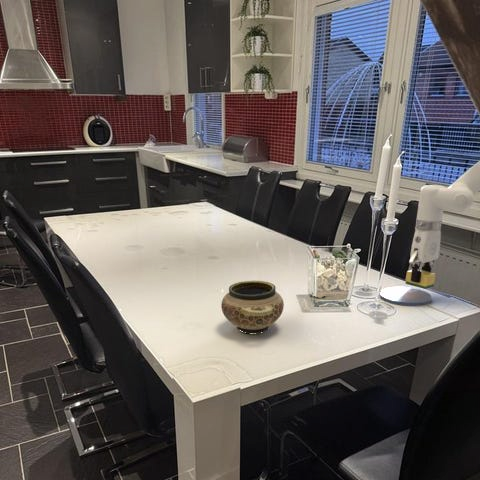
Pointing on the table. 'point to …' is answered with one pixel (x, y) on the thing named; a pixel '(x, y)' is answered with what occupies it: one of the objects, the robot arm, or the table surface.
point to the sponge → (422, 279)
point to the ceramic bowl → (252, 305)
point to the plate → (405, 296)
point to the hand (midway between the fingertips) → (420, 279)
